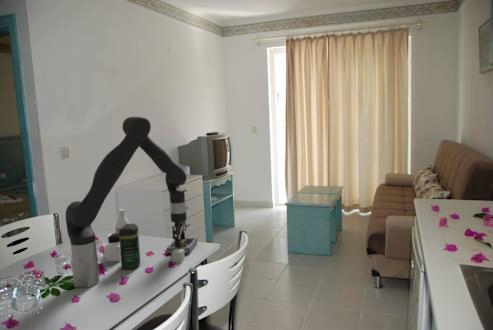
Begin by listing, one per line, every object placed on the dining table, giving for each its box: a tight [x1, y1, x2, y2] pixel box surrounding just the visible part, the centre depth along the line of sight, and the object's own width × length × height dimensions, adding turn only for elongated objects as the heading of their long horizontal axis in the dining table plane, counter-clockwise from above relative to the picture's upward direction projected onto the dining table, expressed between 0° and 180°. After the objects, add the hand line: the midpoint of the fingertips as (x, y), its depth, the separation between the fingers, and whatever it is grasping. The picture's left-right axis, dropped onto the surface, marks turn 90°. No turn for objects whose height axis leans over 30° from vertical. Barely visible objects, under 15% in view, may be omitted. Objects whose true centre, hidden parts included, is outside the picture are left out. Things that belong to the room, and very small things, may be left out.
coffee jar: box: [119, 223, 141, 270], centre depth 176 cm, size 10×8×19 cm
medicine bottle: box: [103, 232, 121, 263], centre depth 185 cm, size 7×7×12 cm
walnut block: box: [174, 239, 186, 247], centre depth 193 cm, size 4×4×4 cm
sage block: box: [171, 249, 186, 263], centre depth 181 cm, size 4×4×4 cm
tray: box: [166, 237, 198, 255], centre depth 196 cm, size 15×11×3 cm
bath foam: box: [115, 208, 131, 233], centre depth 199 cm, size 7×7×20 cm
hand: (180, 243), depth 193 cm, fingers open, 8 cm apart
